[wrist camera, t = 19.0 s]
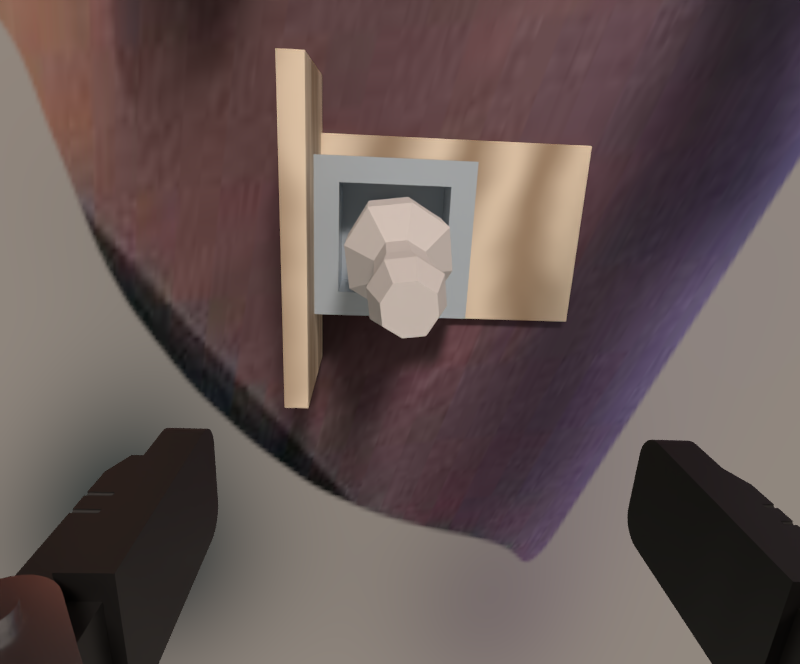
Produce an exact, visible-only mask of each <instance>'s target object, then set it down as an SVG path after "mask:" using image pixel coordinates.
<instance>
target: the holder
mask: <svg viewBox="0 0 800 664" xmlns="http://www.w3.org/2000/svg"><path fill="white" fill-rule="evenodd" d="M478 163H479V162H474V161H456V160H434V159H412V158H391V157H369V156H347V155H326V154H314V314H328V315H360V316H369V308H368V300H367V299H366V298H365V297H363V296H361V295H360V294H358V293H356V292H355V291H353V290H351V289H350V288H349V281H348V273H347V265H346V257H345V249H344V244H345V241H346V238H347V236H348V234H349V232H350V230H351V229H352V227H353V225H354V224H355V222H356V221H357V219H358V217H359V216H360V214H361V212H362V211H363V209H364V208H365V206H366V204H367V203H368V201H371V200H381V199H391V198H402V197H409V198H411V199H412V200H414V201H415V202H417V203H418V204H420V205H421V206H423V207H424V208H426V209H427V210H429V211H430V212H432V213H433V214H435V215H437V216H438V217H440V218H441V219H442V220H443V221H444V222H445V223H446V224H447V225H448V226H449V227H450V238H451V255H452V272H451V274H450V275H449V277H448V278H447V280H446V281H445V284H446V299H447V307H446V308H445V310H444V311H443V312H442V314H441V315H440V317H439V318H457V319H465V314H466V303H467V291H468V279H469V268H470V256H471V245H472V233H473V221H474V210H475V198H476V186H477V175H478Z"/></svg>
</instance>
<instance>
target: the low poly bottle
mask: <svg viewBox="0 0 800 664" xmlns="http://www.w3.org/2000/svg"><path fill="white" fill-rule="evenodd" d="M344 249H345V257H346V265H347V273H348V281H349V288H350V289H351V290H353V291H355V292H356V293H358V294H360V295H361V296H363V297H365V298H366V299H367V300H368V308H369V317H370V319H371V320H372V321H374V322H376V323H377V324H379V325H381V326H382V327H384V328H386V329H387V330H389V331H391V332H392V333H394V334H396V335H397V336H399V337H401V338H412V337H422V336H426V335H427V334H428V333H429V331H430V330H431V328H432V327H433V325H434V324H435V323H436V321H437V320H438V318H439V317H440V315H441V314H442V312H443V311H444V310H445V308H446V307H447V299H446V284H445V281H446V280H447V278H448V277H449V275H450V274H451V272H452V255H451V238H450V227H449V226H448V225H447V224H446V223H445V222H444V221H443V220H442V219H441V218H440V217H438V216H437V215H435V214H433V213H432V212H430V211H429V210H427V209H426V208H424V207H423V206H421V205H420V204H418V203H417V202H415V201H414V200H412V199H411V198H409V197H402V198H391V199H381V200H371V201H368V203H367V204H366V206H365V208H364V209H363V211H362V212H361V214H360V216H359V217H358V219H357V221H356V222H355V224H354V225H353V227H352V229H351V230H350V232H349V234H348V236H347V238H346V241H345V244H344Z"/></svg>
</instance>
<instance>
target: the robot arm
mask: <svg viewBox="0 0 800 664" xmlns="http://www.w3.org/2000/svg"><path fill="white" fill-rule="evenodd" d="M773 505H774V504H773V503H772V502H770V501H769V500H768V499H767V498H766V497H764V495H762V494H761V493H760V492H759V491H758V490H757V489H756V488H755V487H753V486H752V485H751V484H749V483H747V482H745V481H744V480H742V479H740V478H739V477H737V476H735V475H733V474H732V473H730V472H728V471H726V470H724V469H723V468H721V467H720V466H719V465H718V464H717V463H716V462H715V461H714V460H713V459H712V458H710V457H709V456H708V455H707V454H706V453H705V452H704V451H703V450H701V448H699V447H698V446H697V445H696V444H695V443H693V442H691V441H675V440H648V441H647V442H646V443H644V445H643V446H642V449H641V452H640V456H639V461H638V466H637V470H636V475H635V480H634V484H633V489H632V494H631V498H630V503H629V508H628V528H629V533H630V536H631V539H632V541H633V544H634V546H635V547H636V549H637V550H638V552H639V553H640V555H641V556H642V558H643V559H644V561H645V562H646V564H647V566H648V567H649V569H650V570H651V571H652V573H653V575H654V576H655V578H656V579H657V581H658V582H659V584H660V585H661V587H662V588H663V590H664V591H665V593H666V594H667V596H668V597H669V599H670V600H671V602H672V604H673V605H674V607H675V608H676V610H677V611H678V613H679V614H680V616H681V617H682V619H683V620H684V622H685V623H686V625H687V626H688V628H689V629H690V631H691V632H692V634H693V635H694V637H695V638H696V640H697V642H698V643H699V644H700V646H701V648H702V649H703V650H704V652H705V654H706V655H707V657H708V658H709V660H710V661H711V663H712V664H800V527H799V526H798V525H793V523H792V520H791V519H790V518H789V517H787V516H786V515H785V514H784V513H783V512H782V511H781V510H780V509H778V508H774V506H773ZM217 515H218V496H217V481H216V466H215V452H214V440H213V435H212V432H211V430H210V429H191V428H166V429H164V430H163V431H162V432H161V434H160V435H159V436H158V438H157V439H156V440H155V442H154V443H153V444H152V445H151V447H150V448H149V449H148V450H147V452H146V453H145V454H144V455H131V456H129V457H128V458H126V459H125V460H123V461H122V462H120V463H118V464H116V465H115V466H113V467H112V468H110V469H108V470H107V471H105V472H104V473H103V474H102V476H101V477H100V478H99V479H98V480H97V481H96V483H95V484H94V485H93V486H92V487H91V488H90V489H89V491H88V494H87V496H83V498H82V499H81V500H80V501H79V502H78V503H77V505H76V506H75V507H74V508H73V512H72V513H69V514H68V515H67V516H66V517H65V518H64V520H63V521H62V522H61V523H60V524H59V525H58V527H57V528H56V529H55V530H54V531H53V532H52V533H51V535H50V536H49V537H48V538H47V539H46V540H45V542H44V543H43V544H42V545H41V546H40V547H39V548H38V550H37V551H36V552H35V553H34V554H33V556H32V557H31V558H30V559H29V560H28V561H27V563H26V564H25V565H24V566H23V567H22V568H21V570H20V571H19V572H18V573H17V574H16V575H15V576H9V577H5V578H0V664H159V661H160V659H161V657H162V654H163V652H164V650H165V648H166V645H167V643H168V641H169V638H170V636H171V634H172V631H173V629H174V626H175V624H176V622H177V620H178V617H179V615H180V613H181V611H182V608H183V606H184V603H185V601H186V599H187V597H188V594H189V592H190V590H191V587H192V585H193V583H194V580H195V578H196V576H197V574H198V571H199V569H200V566H201V564H202V562H203V560H204V557H205V555H206V553H207V550H208V548H209V545H210V543H211V541H212V538H213V536H214V532H215V528H216V523H217Z"/></svg>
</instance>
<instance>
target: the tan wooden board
mask: <svg viewBox="0 0 800 664" xmlns="http://www.w3.org/2000/svg"><path fill="white" fill-rule="evenodd" d="M275 52H276V91H277V130H278V168H279V207H280V246H281V285H282V324H283V363H284V402H285V408H308V407H309V404H310V400H311V396H312V393H313V389H314V385H315V382H316V378H317V374H318V371H319V367H320V363H321V360H322V356H323V346H322V314H314V154H326V155H347V156H369V157H391V158H412V159H434V160H456V161H474V162H479V163H478V175H477V186H476V198H475V210H474V221H473V233H472V245H471V256H470V268H469V279H468V291H467V303H466V314H465V319H497V320H530V321H562V322H566V318H567V312H568V305H569V298H570V291H571V285H572V278H573V271H574V264H575V257H576V251H577V244H578V237H579V230H580V224H581V217H582V210H583V203H584V196H585V190H586V183H587V176H588V169H589V163H590V156H591V149H592V146H580V145H559V144H539V143H518V142H497V141H477V140H456V139H435V138H414V137H394V136H373V135H352V134H332V133H322V74H321V73H320V71H319V70H318V69H317V67H316V66H315V64H314V63H313V61H312V60H311V59H310V57H309V56H308V54H307V53H306V51H305V50H297V49H279V48H275Z"/></svg>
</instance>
